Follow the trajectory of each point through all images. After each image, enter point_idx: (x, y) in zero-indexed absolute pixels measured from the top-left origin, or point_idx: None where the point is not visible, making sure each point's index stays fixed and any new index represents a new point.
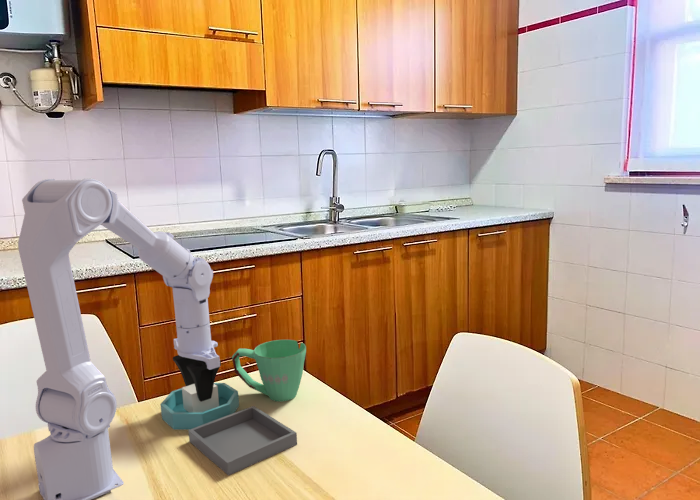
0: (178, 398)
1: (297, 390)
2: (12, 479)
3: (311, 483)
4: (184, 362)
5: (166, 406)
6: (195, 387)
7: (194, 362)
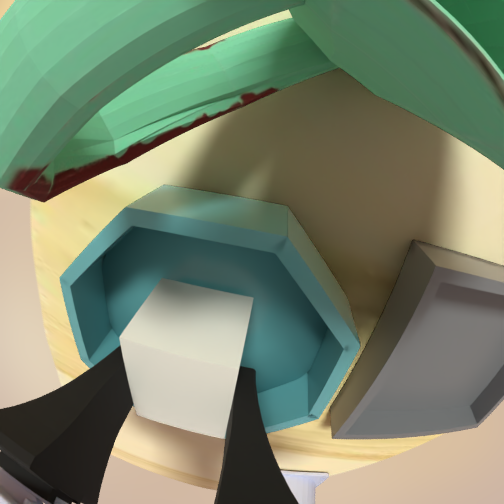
0: (100, 335)
1: (453, 9)
2: (190, 482)
3: None
4: (90, 486)
5: None
6: (171, 405)
7: (79, 457)
